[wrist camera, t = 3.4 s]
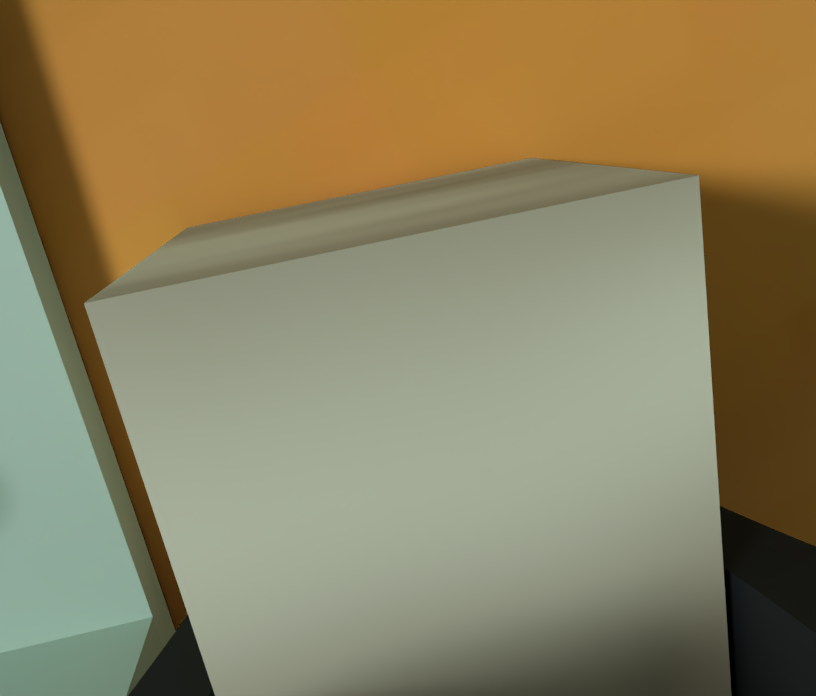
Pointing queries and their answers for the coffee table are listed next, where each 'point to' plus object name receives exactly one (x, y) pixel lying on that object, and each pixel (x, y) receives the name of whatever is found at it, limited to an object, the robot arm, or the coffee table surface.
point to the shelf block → (436, 437)
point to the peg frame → (61, 497)
